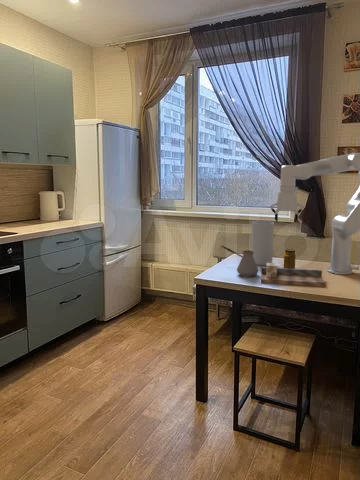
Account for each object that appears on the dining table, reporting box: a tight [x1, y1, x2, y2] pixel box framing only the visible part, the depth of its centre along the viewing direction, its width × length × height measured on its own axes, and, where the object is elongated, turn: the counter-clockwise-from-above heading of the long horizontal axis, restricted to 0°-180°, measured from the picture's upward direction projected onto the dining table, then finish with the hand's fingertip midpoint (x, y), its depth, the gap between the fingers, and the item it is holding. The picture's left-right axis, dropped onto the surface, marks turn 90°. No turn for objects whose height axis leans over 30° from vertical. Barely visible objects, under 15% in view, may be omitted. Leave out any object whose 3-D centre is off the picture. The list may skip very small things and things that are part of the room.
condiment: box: [283, 248, 296, 269], centre depth 204 cm, size 7×8×12 cm
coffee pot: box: [219, 245, 259, 278], centre depth 198 cm, size 21×12×15 cm, turn 63°
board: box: [260, 266, 326, 288], centre depth 185 cm, size 30×12×5 cm, turn 77°
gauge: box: [266, 262, 278, 279], centre depth 186 cm, size 5×10×6 cm, turn 167°
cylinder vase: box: [250, 220, 275, 267], centre depth 219 cm, size 12×12×25 cm
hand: (286, 221), depth 196 cm, fingers open, 9 cm apart
